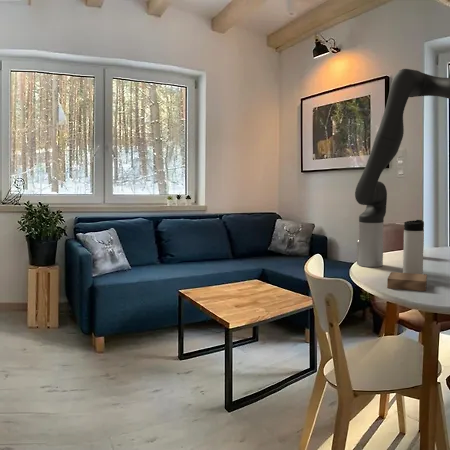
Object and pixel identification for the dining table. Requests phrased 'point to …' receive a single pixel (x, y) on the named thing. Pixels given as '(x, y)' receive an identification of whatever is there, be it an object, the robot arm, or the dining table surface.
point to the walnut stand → (407, 281)
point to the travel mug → (413, 247)
